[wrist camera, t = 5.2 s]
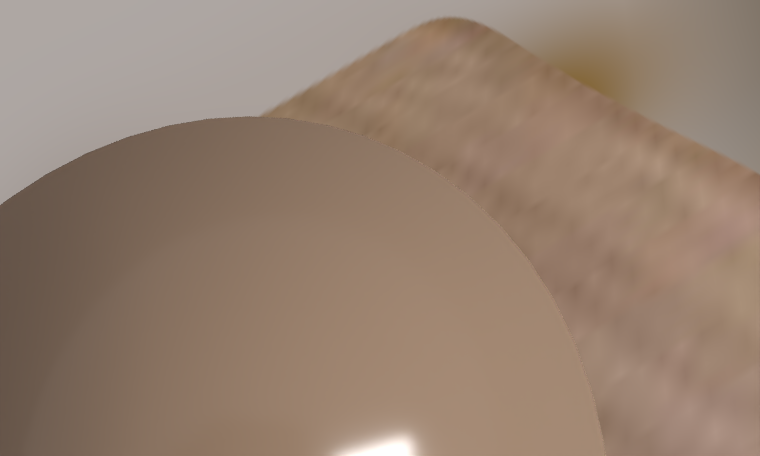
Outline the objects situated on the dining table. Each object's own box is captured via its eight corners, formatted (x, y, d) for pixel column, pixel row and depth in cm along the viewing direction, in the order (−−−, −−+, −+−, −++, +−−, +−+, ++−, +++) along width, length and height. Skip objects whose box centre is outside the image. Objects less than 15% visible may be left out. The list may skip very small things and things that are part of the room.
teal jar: (423, 490, 14) (702, 1035, 2) (250, 494, 14) (-418, 1099, 2) (415, 316, 16) (548, 115, 4) (262, 319, 16) (-62, 117, 4)
